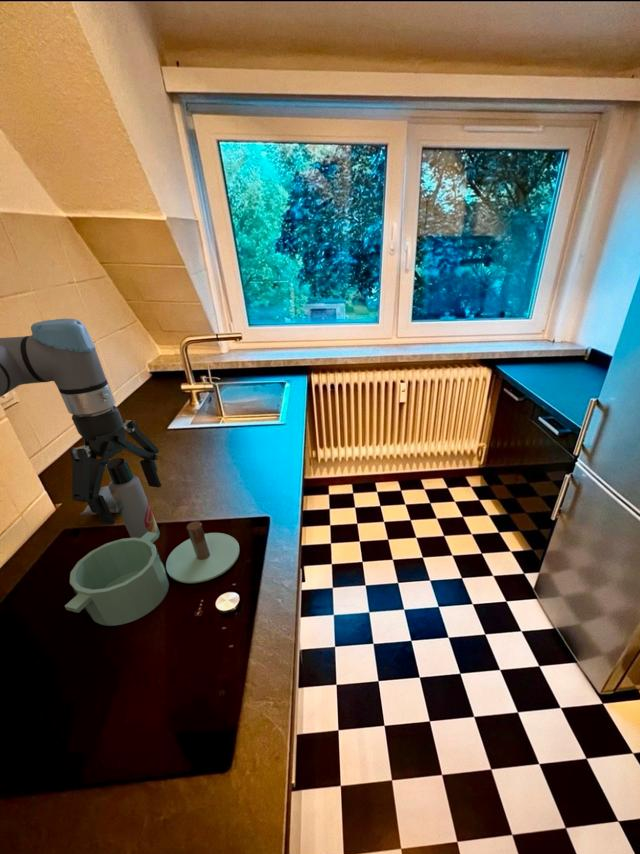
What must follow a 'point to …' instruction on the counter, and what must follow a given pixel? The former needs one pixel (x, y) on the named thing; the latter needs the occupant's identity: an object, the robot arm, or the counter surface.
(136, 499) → the lotion bottle
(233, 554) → the lid
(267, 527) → the counter surface
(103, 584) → the pot
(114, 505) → the packaged food
